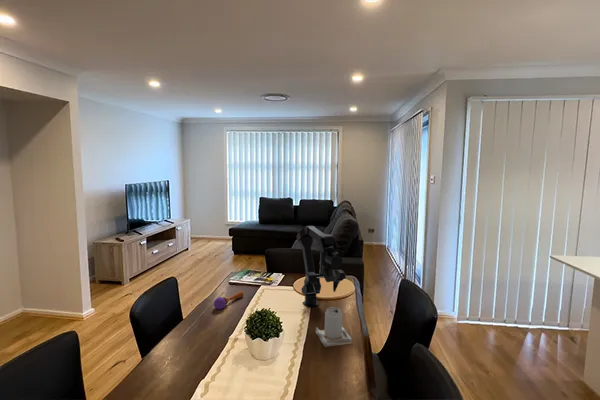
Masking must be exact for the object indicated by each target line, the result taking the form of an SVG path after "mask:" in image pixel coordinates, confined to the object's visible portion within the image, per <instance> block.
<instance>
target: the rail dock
mask: <svg viewBox="0 0 600 400" xmlns="http://www.w3.org/2000/svg"><path fill="white" fill-rule="evenodd" d="M324 330H325V329H319V327H317V326H316V327H315V334H316V335H317V337H318V338H319V341H320V342H321V343H322V345H323V347H324V348H328V347H334V346H335V347H336V346H343V345H349V344H352V342H353V340H352V339H353V338H352V337H351V335H350V334H349V333H348V332H347V331H346V329H345V328H344V327H343V326H342V335H341V337H340V338H339V339H336V340H332V339H329V338H327V337H326V336H325V334H324Z"/></svg>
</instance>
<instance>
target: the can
mask: <svg viewBox="0 0 600 400" xmlns="http://www.w3.org/2000/svg"><path fill="white" fill-rule="evenodd" d="M342 327H343V312H342V310H341V309H340V308H339V307H336V306H331V307H327V308H326V311H325V312H324V329H323V330H324V334H325V336H326V337H327V338H329V339H332V340H336V339H339V338H340V337H341V335H342Z"/></svg>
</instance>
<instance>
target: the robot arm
mask: <svg viewBox="0 0 600 400" xmlns="http://www.w3.org/2000/svg"><path fill="white" fill-rule="evenodd" d="M296 240H297V243H298V246H299V247H301V248H300V249H301V250H302V256H303V263H304V269H305V278H304V281H303V284H304V285H303V286H302V287H301V293H302V294H303V296H304V301H302V304H303V305H304V306H305V307H307V308H312V307H313V308H314V307H317V306H319V303H318V302H317V295H319V294H320V293H321V289H322V284H321V279H323V278H324V279H325V282H326V283H332V291H333V292H334V293H335V292H336V291H337V288H338V286H339V284H340V282H342V281H344V280H345V279H346V277H347V274H346V273H345V272H344V270H342V269H338V268H341V266H342V264H343V258H342V256H340V254H339V246H338V243H337V241H336V239H335V237H334V235H332V234H329V233H323V232H322V231H321V230H320V229H318V228H316V226H314V225H306V226H305V227H304V228H303V229H300V230H299V231H298V233H297V234H296ZM314 240H315V241H316V242H317V246H318V247H319V248H318V250H319V251H320V252H319V253H320V255H319V256H320V257H319V264H318V265H319V270H318V272H319V273H316V272H315V263H314V258H313V252H312V251H313V250H312V246H313V243H314ZM334 268H335V269H334Z"/></svg>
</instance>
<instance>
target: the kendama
mask: <svg viewBox="0 0 600 400" xmlns="http://www.w3.org/2000/svg"><path fill="white" fill-rule="evenodd" d="M243 297H244V292H243V290H239V291H238V292H236V293H235V294H233V295H232V296H230V297H225V296H224V297H221V296H218V297H217V298H216V299H214V301H213V306H214V308H215V309H216V310H220V311H221V310H222V309H224V308H225V307H226V306H227V305H228V303H229V302H230V301H232V300H235V299H239V298H243Z"/></svg>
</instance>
